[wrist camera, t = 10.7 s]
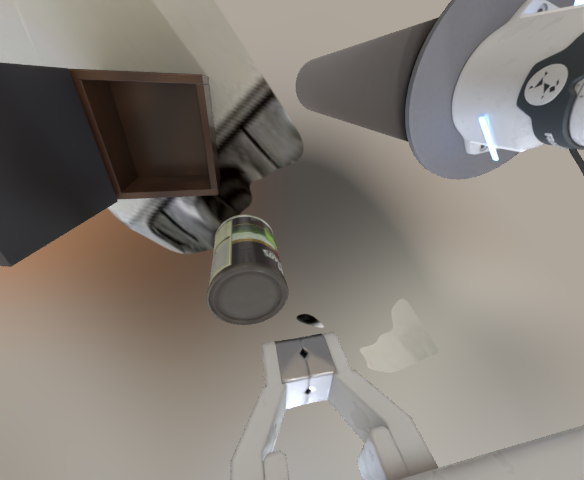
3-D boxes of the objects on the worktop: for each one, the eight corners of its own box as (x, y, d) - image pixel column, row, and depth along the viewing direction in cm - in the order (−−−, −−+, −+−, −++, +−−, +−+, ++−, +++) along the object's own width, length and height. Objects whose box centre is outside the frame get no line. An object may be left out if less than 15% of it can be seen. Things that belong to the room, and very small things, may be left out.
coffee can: (260, 204, 40) (272, 253, 28) (281, 251, 46) (298, 308, 34) (202, 227, 40) (189, 286, 28) (230, 271, 46) (229, 335, 34)
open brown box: (208, 76, 30) (202, 74, 24) (220, 178, 36) (218, 195, 31) (101, 72, 28) (67, 68, 22) (135, 180, 34) (116, 199, 29)
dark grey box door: (-148, 50, 11) (-165, 49, 11) (11, 266, 18) (0, 266, 18) (68, 68, 22) (59, 68, 22) (118, 201, 28) (111, 200, 28)
